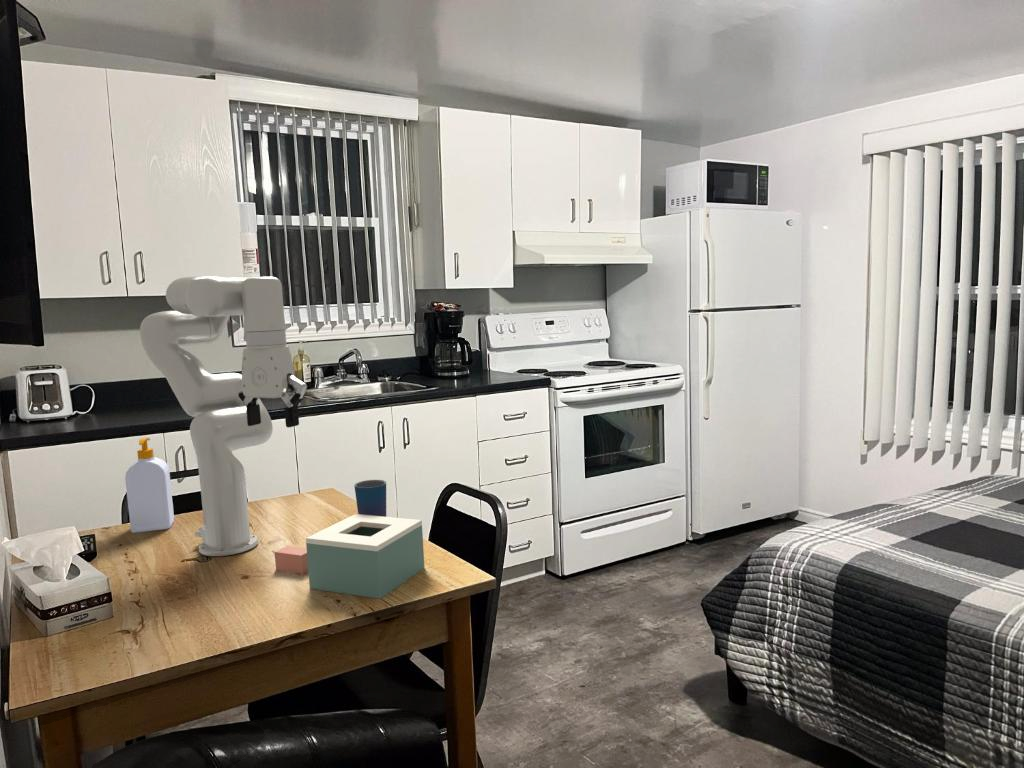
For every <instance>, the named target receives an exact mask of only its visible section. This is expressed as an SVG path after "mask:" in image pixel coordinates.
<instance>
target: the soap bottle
mask: <svg viewBox="0 0 1024 768" xmlns="http://www.w3.org/2000/svg"><path fill="white" fill-rule="evenodd" d="M148 441H151V438H149V437H144V438H141V437H140V438H139V440H138V445H139V446H141V449H138V450H137V452H136V453H137V460H136V461H134V463H133V464H132V465H130V467H129V468H128V469H127V471H126V472H125V477H124V479H125V480H124V481H125V488H126V499H127V506H128V516H129V527H130V532H131V533H133V534H136V533H144V532H145V533H146V532H155V531H161V530H169V529H170V528H171V527H172V525H173V524H174V521H175V515H174V512H175V511H174V503H173V497H172V495H173V493H172V485H171V484H172V482H171V475H170V474H171V473H170V468H169V465H168V463H167V462H165V461H164V460H163V459H162V458H160V457H155V456H154V448H152V447H151V448H149V446H148Z"/></svg>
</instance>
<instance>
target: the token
mask: <svg viewBox="0 0 1024 768" xmlns="http://www.w3.org/2000/svg"><path fill="white" fill-rule="evenodd" d="M274 561H275V562H274V563H275V570H277V571H282V572H289V573H293V574H296V573H297V574H302V575H303V574H305V573H307V572H309V571H308V559H307V547H302V546H296V545H295V546H292V545H286V546H284V547H282V548H280V549H278V550H276V551H274Z"/></svg>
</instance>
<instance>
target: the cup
mask: <svg viewBox="0 0 1024 768" xmlns="http://www.w3.org/2000/svg"><path fill="white" fill-rule="evenodd" d="M354 493H355V501H356V509H357V514H362V515H373V516H383V517H387V481H386V480H383V479H368V480H367V479H366V480H362V481H358V482H355V483H354Z"/></svg>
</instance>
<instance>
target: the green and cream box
mask: <svg viewBox="0 0 1024 768" xmlns="http://www.w3.org/2000/svg"><path fill="white" fill-rule="evenodd" d="M305 543H306V544H305V545H306V548H307V559H308V571H307V572H308V580H309V589H311V590H316V591H317V590H318V591H325V592H331V593H338V594H339V593H340V594H344V595H353V596H358V597H365V598H371V599H377V600H380V599H383V598H384V597H386V596H387V595H388V594H389V593H391V592H393V590H395V589H397V588H398V587H400V586H401V585H403V584H404V583H405V582H407V581H408V580H410V579H411V578H412V577H414V576H415V575H416V574H418V573H419V572H421V571H422V570H424V569H425V568H426V567H425V556H424V555H425V553H424V552H425V551H424V536H423V521H422V519H414V518H413V519H412V518H405V517H404V518H403V517H395V516H394V517H391V516H386V517H383V516H373V515H362V514H358V513H354V514H353V515H350V516H348V517H346V518H344V519H342V520H340V521H338V522H335V523H334V524H332V525H330V526H328V527H325V528H323V529H322V530H319V531H318V532H317V531H316V533H313V534H311V535H309V536H307V537H305Z"/></svg>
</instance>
